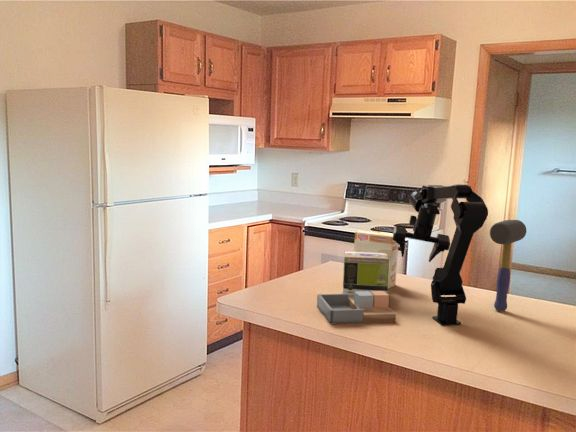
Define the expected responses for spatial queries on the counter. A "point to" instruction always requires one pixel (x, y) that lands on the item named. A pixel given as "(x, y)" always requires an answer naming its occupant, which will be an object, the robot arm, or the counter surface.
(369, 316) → the board
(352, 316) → the tray
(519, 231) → the rubber mallet
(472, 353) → the counter surface
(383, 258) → the tea box
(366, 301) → the gray cube
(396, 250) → the coffeecake box
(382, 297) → the peach cube
